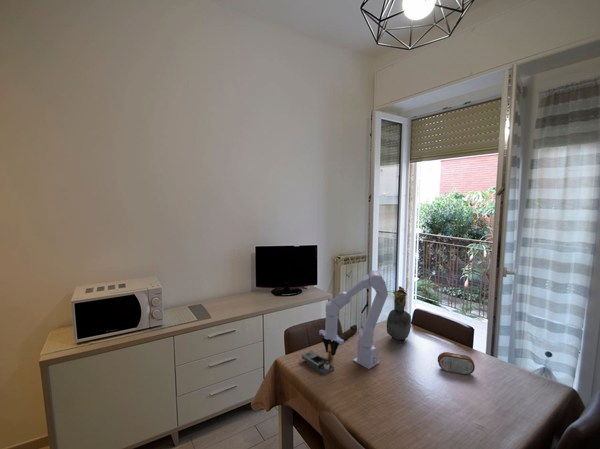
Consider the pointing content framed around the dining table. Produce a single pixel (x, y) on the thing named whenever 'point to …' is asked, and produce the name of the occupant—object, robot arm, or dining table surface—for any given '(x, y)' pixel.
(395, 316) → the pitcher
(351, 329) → the hand tool
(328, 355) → the copper pin
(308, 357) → the grey plate with knobs
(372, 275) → the robot arm
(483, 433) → the dining table surface
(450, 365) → the tin
